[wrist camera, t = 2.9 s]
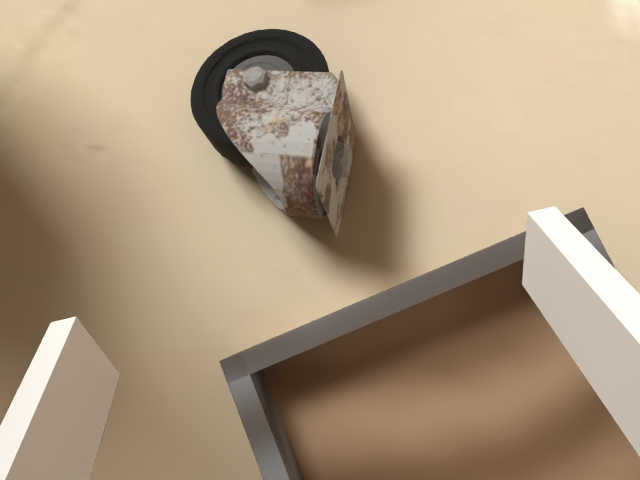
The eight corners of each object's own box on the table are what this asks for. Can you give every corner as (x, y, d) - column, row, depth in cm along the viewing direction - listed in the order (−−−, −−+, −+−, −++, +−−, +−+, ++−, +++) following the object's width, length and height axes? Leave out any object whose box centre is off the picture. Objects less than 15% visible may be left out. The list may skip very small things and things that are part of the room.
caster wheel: (236, 76, 33) (376, 82, 31) (191, 222, 29) (346, 241, 27) (196, -2, 27) (367, -3, 25) (134, 169, 23) (327, 187, 21)
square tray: (239, 352, 28) (219, 361, 24) (548, 221, 28) (583, 207, 24) (373, 706, 25) (378, 787, 21) (721, 562, 25) (795, 615, 21)
